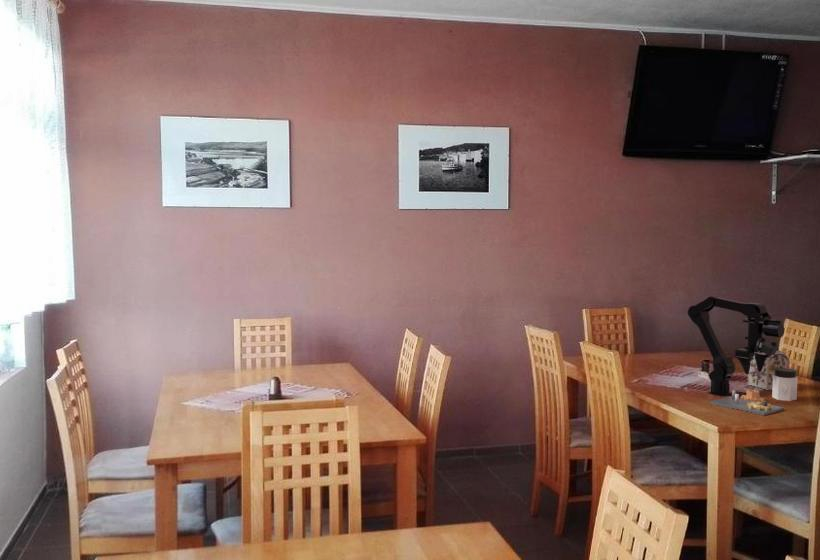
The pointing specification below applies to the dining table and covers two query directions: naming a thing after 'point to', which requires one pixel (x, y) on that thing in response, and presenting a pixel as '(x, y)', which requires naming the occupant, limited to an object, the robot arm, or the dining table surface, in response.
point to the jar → (784, 384)
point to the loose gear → (753, 396)
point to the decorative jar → (767, 370)
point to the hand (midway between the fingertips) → (753, 372)
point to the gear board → (747, 405)
